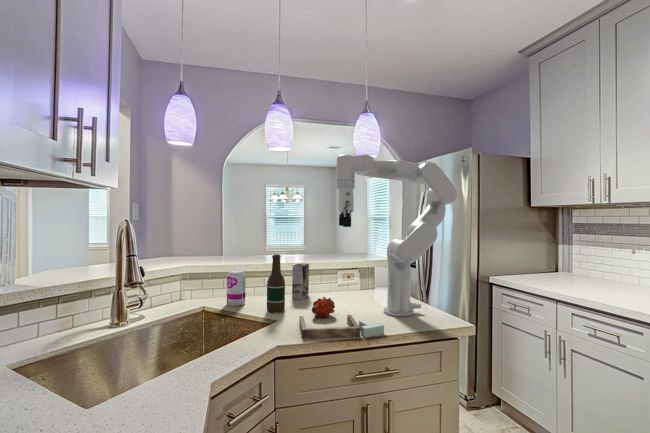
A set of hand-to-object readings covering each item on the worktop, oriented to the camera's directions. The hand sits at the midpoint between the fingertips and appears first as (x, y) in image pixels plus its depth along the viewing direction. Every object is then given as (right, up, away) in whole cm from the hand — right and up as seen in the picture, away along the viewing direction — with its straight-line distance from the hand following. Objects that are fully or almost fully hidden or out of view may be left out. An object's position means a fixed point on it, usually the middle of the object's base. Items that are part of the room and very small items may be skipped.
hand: (344, 226), depth 147 cm
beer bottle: (-29, -37, +4) cm, 47 cm away
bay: (-7, -37, -18) cm, 42 cm away
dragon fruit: (-9, -37, -3) cm, 38 cm away
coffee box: (-20, -36, +28) cm, 50 cm away
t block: (+7, -37, -20) cm, 43 cm away
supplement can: (-49, -36, +14) cm, 62 cm away
